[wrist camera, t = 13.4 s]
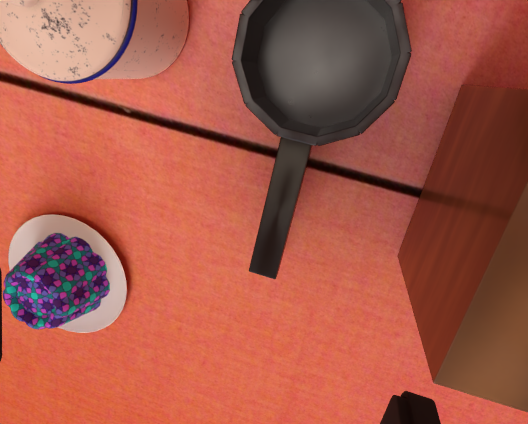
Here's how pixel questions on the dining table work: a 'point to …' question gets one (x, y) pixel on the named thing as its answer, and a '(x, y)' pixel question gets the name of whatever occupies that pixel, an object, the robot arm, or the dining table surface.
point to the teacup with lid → (94, 37)
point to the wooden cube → (475, 249)
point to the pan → (314, 88)
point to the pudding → (63, 276)
